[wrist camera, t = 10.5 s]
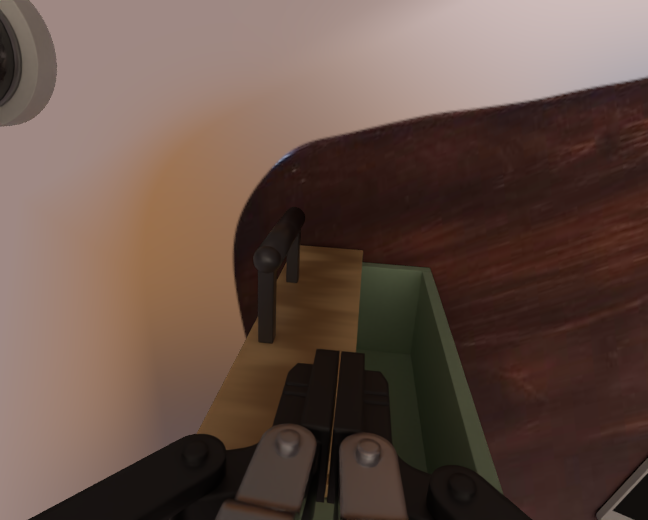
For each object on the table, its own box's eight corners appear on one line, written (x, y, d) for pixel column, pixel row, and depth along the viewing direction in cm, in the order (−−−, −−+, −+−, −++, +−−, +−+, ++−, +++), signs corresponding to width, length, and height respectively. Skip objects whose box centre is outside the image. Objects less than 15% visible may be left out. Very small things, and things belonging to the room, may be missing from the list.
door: (295, 251, 39) (190, 457, 17) (297, 184, 37) (181, 318, 15) (362, 256, 38) (347, 476, 16) (368, 189, 36) (359, 335, 14)
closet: (291, 344, 43) (185, 661, 19) (294, 249, 40) (170, 489, 16) (417, 356, 42) (475, 708, 18) (431, 261, 39) (525, 535, 15)
